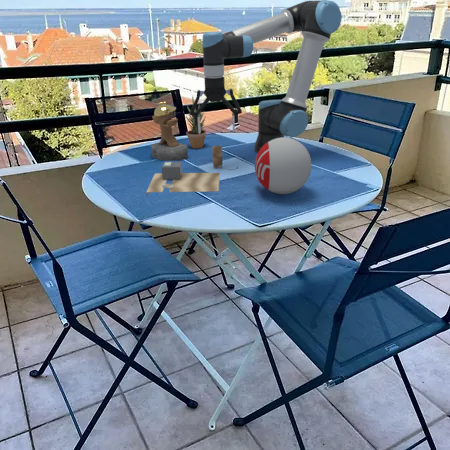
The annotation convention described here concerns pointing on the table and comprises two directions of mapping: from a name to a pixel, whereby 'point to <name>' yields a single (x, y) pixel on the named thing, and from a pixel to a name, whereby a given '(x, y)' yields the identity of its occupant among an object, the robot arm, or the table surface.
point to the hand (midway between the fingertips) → (216, 132)
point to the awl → (217, 156)
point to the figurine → (167, 135)
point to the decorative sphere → (283, 165)
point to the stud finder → (171, 170)
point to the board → (186, 183)
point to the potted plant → (196, 131)
